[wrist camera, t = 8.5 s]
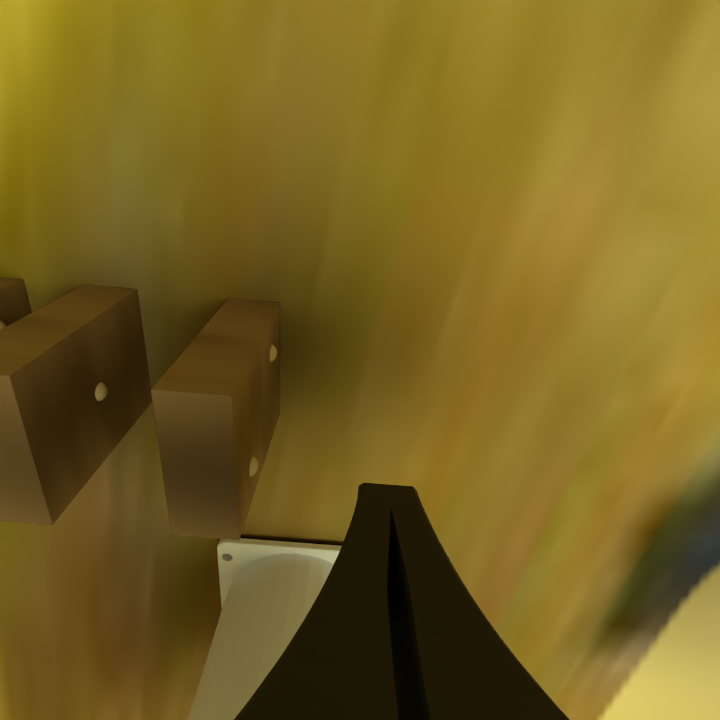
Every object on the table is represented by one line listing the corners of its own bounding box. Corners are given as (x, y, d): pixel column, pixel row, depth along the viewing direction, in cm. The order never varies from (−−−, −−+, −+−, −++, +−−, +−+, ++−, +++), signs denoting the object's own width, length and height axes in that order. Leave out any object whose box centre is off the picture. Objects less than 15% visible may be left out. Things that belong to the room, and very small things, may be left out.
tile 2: (157, 401, 20) (59, 525, 14) (105, 397, 20) (-17, 519, 14) (142, 289, 18) (17, 376, 11) (84, 284, 18) (-74, 369, 11)
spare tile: (284, 412, 20) (246, 540, 14) (233, 408, 20) (171, 535, 14) (285, 302, 18) (239, 396, 12) (228, 298, 18) (150, 389, 12)
